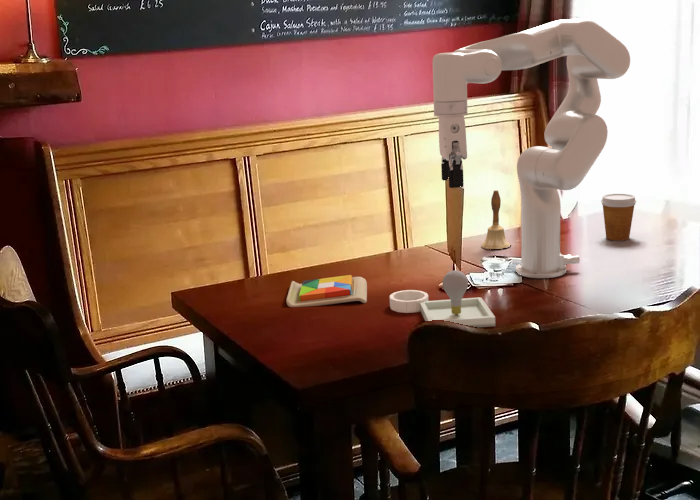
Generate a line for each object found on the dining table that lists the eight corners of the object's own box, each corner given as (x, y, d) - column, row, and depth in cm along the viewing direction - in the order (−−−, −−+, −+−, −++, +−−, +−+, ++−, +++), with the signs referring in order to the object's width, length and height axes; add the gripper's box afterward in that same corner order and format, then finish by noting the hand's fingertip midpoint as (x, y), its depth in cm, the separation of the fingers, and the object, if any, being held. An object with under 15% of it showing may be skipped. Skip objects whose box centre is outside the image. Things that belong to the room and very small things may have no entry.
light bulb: (468, 319, 190) (466, 274, 188) (442, 319, 191) (440, 274, 189) (470, 310, 195) (468, 267, 193) (445, 310, 196) (443, 267, 194)
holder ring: (425, 299, 207) (424, 288, 206) (430, 311, 199) (430, 300, 198) (388, 302, 206) (388, 291, 206) (392, 313, 198) (392, 302, 197)
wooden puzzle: (292, 287, 224) (291, 274, 223) (367, 284, 223) (366, 270, 222) (286, 309, 207) (284, 295, 206) (366, 306, 206) (366, 291, 206)
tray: (481, 305, 200) (481, 297, 200) (495, 326, 187) (495, 317, 186) (419, 310, 200) (419, 301, 199) (429, 330, 186) (429, 321, 186)
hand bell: (489, 241, 256) (488, 187, 252) (515, 244, 251) (515, 189, 247) (475, 248, 250) (474, 192, 246) (502, 251, 245) (502, 194, 241)
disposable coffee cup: (639, 241, 248) (640, 199, 245) (605, 242, 248) (606, 200, 245) (629, 233, 257) (630, 192, 254) (596, 234, 257) (597, 194, 254)
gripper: (474, 111, 192) (476, 189, 196) (459, 104, 209) (461, 176, 213) (440, 113, 191) (442, 191, 196) (428, 106, 208) (430, 178, 212)
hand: (452, 183), depth 204 cm, fingers open, 9 cm apart
